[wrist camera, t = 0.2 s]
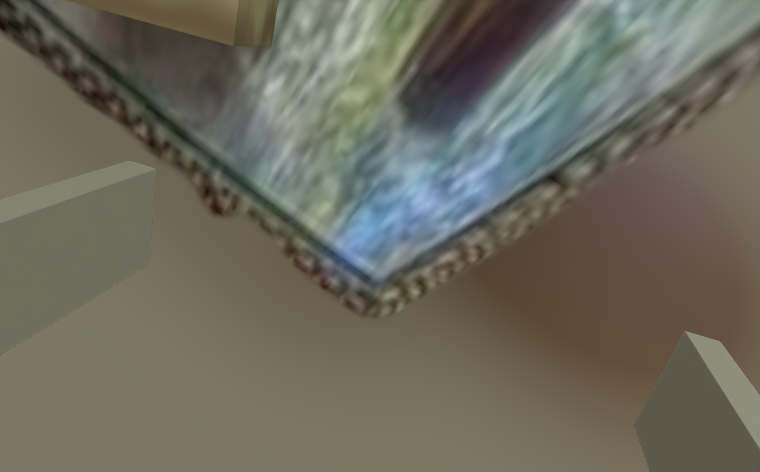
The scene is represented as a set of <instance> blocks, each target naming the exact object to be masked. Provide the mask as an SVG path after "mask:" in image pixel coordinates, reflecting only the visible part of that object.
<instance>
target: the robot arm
mask: <svg viewBox="0 0 760 472" xmlns="http://www.w3.org/2000/svg"><path fill="white" fill-rule="evenodd" d="M155 176H156V169H155V168H152V167H149V166H145V165H142V164H139V163H135V162H132V161H126V162H123V163H120V164H116V165H113V166H110V167H106V168H103V169H100V170H96V171H93V172H90V173H87V174H83V175H80V176H77V177H73V178H70V179H67V180H64V181H60V182H57V183H53V184H50V185H47V186H44V187H40V188H37V189H33V190H30V191H27V192H24V193H21V194H17V195H14V196H11V197H7V198H4V199H1V200H0V355H2V354H4V353H5V352H7V351H9V350H10V349H12V348H13V347H15V346H17V345H18V344H20V343H22V342H23V341H25V340H26V339H28V338H30V337H32V336H33V335H34V334H36V333H38V332H40V331H41V330H43V329H45V328H46V327H48V326H50V325H51V324H53V323H54V322H56V321H58V320H59V319H61V318H62V317H64V316H66V315H67V314H69V313H71V312H72V311H74V310H76V309H77V308H79V307H81V306H82V305H84V304H86V303H87V302H89V301H90V300H92V299H94V298H95V297H97V296H99V295H100V294H102V293H104V292H105V291H107V290H108V289H110V288H112V287H113V286H115V285H117V284H118V283H120V282H121V281H123V280H125V279H126V278H128V277H130V276H131V275H133V274H135V273H136V272H138V271H140V270H141V269H143V268H144V267H146V266H148V265H149V264H150V254H151V239H152V224H153V209H154V194H155V178H156V177H155ZM634 426H635V429H636V432H637V435H638V438H639V441H640V444H641V447H642V450H643V453H644V456H645V458H646V462H647V465H648V467H649V471H650V472H760V396H759V394H758V393H757V391H756V390H755V389H754V387H753V386H752V385H751V383H750V382H749V381H748V379H747V378H746V376H745V375H744V374H743V373H742V371H741V370H740V368H739V367H738V365H737V364H736V363H735V361H734V360H733V359H732V357H731V356H730V354H729V353H728V352H727V350H726V349H725V348H724V346H723V345H722V344H721V342H719V341H716V340H713V339H709V338H706V337H703V336H700V335H697V334H693V333H690V332H687V331H684V333H683V335H682V337H681V339H680V341H679V343H678V344H677V347H676V348H675V350H674V352H673V354H672V356H671V357H670V359H669V361H668V363H667V365H666V367H665V369H664V370H663V372H662V374H661V376H660V378H659V380H658V381H657V383H656V385H655V387H654V389H653V391H652V393H651V394H650V397H649V398H648V400H647V402H646V404H645V405H644V408H643V409H642V411H641V413H640V415H639V417H638V418H637V420H636V422H635V424H634Z"/></svg>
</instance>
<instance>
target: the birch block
mask: <svg viewBox="0 0 760 472" xmlns="http://www.w3.org/2000/svg"><path fill="white" fill-rule="evenodd" d="M67 1H71V2H75V3H78V4H82V5H85V6H89V7H93V8H96V9H100V10H104V11H107V12H111V13H115V14H118V15H122V16H125V17H129V18H133V19H136V20H140V21H144V22H147V23H151V24H154V25H158V26H162V27H165V28H169V29H173V30H176V31H180V32H183V33H187V34H191V35H194V36H198V37H202V38H205V39H209V40H212V41H216V42H220V43H223V44H227V45H231V46H271V44H272V37H273V31H274V24H275V17H276V10H277V4H278V0H67Z"/></svg>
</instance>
